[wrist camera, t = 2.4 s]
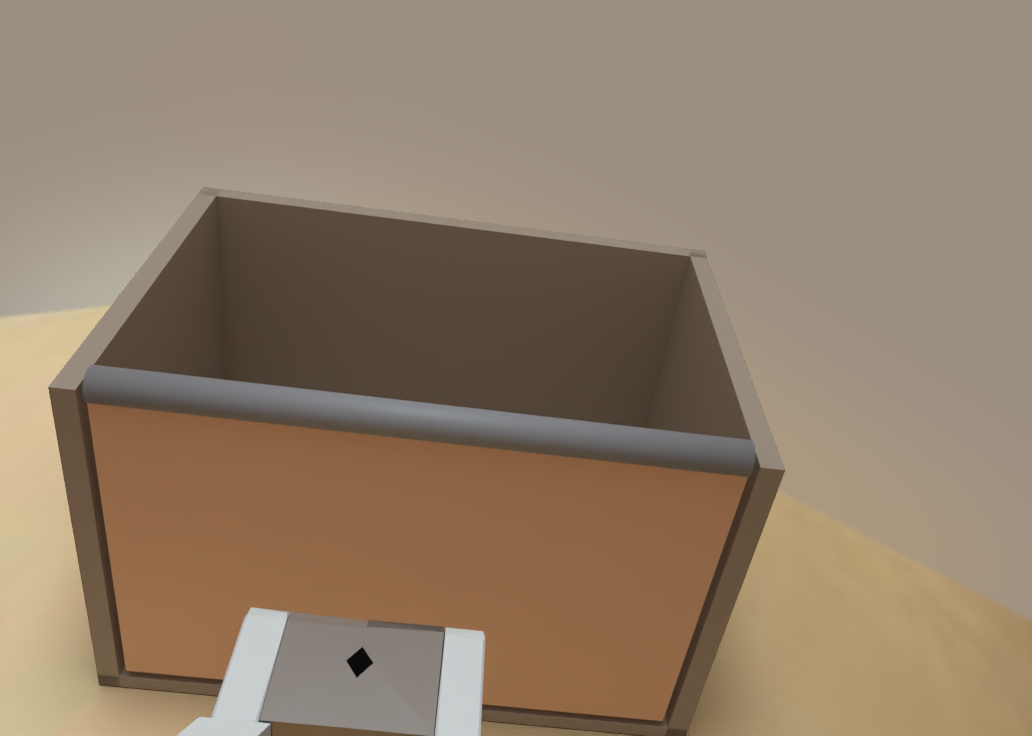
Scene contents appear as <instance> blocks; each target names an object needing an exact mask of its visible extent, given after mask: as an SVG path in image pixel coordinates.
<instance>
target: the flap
mask: <svg viewBox="0 0 1032 736" xmlns="http://www.w3.org/2000/svg"><path fill="white" fill-rule="evenodd" d="M82 393H83V398H84V401H85V402H86V403H87V406H88V413H89V420H90V426H91V433H92V440H93V447H94V454H95V461H96V468H97V475H98V481H99V488H100V495H101V502H102V509H103V516H104V523H105V530H106V536H107V543H108V550H109V557H110V564H111V571H112V578H113V584H114V591H115V598H116V605H117V612H118V619H119V626H120V633H121V639H122V646H123V653H124V660H125V667H126V671H136V672H146V673H157V674H168V675H178V676H189V677H199V678H210V679H221V680H224V677H225V674H226V671H227V668H228V665H229V662H230V659H231V656H232V653H233V650H234V647H235V644H236V641H237V638H238V635H239V632H240V629H241V626H242V623H243V620H244V618H245V616H246V615H247V613H248V611H249V610H250V608H251V607H253V608H262V609H271V610H279V611H288V612H299V613H306V614H314V615H322V616H330V617H338V618H346V619H354V620H362V621H368V620H373V621H385V622H396V623H407V624H419V625H430V626H442V627H444V630H445V628H456V629H466V630H476V631H483V632H484V635H485V655H484V676H483V697H482V704H486V705H496V706H507V707H517V708H528V709H539V710H549V711H560V712H570V713H581V714H592V715H602V716H613V717H624V718H634V719H645V720H655V721H663V719H664V716H665V713H666V710H667V707H668V704H669V701H670V698H671V696H672V693H673V690H674V687H675V684H676V681H677V678H678V676H679V673H680V670H681V667H682V664H683V661H684V658H685V656H686V653H687V650H688V647H689V644H690V641H691V638H692V636H693V633H694V630H695V627H696V624H697V621H698V618H699V616H700V613H701V610H702V607H703V604H704V601H705V598H706V595H707V593H708V590H709V587H710V584H711V581H712V578H713V575H714V573H715V570H716V567H717V564H718V561H719V558H720V555H721V553H722V550H723V547H724V544H725V541H726V538H727V535H728V533H729V530H730V527H731V524H732V521H733V518H734V515H735V513H736V510H737V507H738V504H739V501H740V498H741V495H742V492H743V490H744V487H745V484H746V481H747V478H748V477H749V476H750V475H751V474H752V471H753V469H754V464H755V445H754V442H753V441H752V440H746V439H738V438H729V437H720V436H711V435H703V434H694V433H685V432H676V431H668V430H659V429H650V428H642V427H633V426H624V425H615V424H607V423H598V422H589V421H581V420H572V419H563V418H554V417H546V416H537V415H528V414H520V413H511V412H502V411H493V410H485V409H476V408H467V407H459V406H450V405H441V404H432V403H424V402H415V401H406V400H398V399H389V398H380V397H371V396H363V395H354V394H345V393H337V392H328V391H319V390H310V389H302V388H293V387H284V386H276V385H267V384H258V383H249V382H241V381H232V380H223V379H215V378H206V377H197V376H188V375H180V374H171V373H162V372H154V371H145V370H136V369H127V368H119V367H110V366H101V365H90V366H89V367H88V369H87V371H86V373H85V376H84V380H83V387H82Z"/></svg>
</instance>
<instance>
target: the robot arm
mask: <svg viewBox="0 0 1032 736" xmlns="http://www.w3.org/2000/svg"><path fill="white" fill-rule="evenodd" d="M484 655H485V635H484V632H483V631H476V630H466V629H456V628H445V630H444V627H442V626H430V625H419V624H407V623H396V622H385V621H373V620H368V621H362V620H354V619H346V618H338V617H330V616H322V615H314V614H306V613H299V612H288V611H279V610H271V609H262V608H253V607H251V608H250V610H249V611H248V613H247V615H246V616H245V618H244V620H243V623H242V626H241V629H240V632H239V635H238V638H237V641H236V644H235V647H234V650H233V653H232V656H231V659H230V662H229V665H228V668H227V671H226V674H225V677H224V680H223V683H222V686H221V689H220V692H219V695H218V698H217V701H216V704H215V707H214V710H213V713H212V716H211V717H198V718H197V719H195V720H194V721H193V722H192V723H191V724H190V725H188V726H187V727H186V728H185V729H184V730H182V731H181V732H180V733H179V734H178V735H177V736H481V718H482V697H483V676H484Z"/></svg>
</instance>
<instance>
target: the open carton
mask: <svg viewBox="0 0 1032 736" xmlns="http://www.w3.org/2000/svg"><path fill="white" fill-rule="evenodd" d="M90 365H101V366H110V367H119V368H127V369H136V370H145V371H154V372H162V373H171V374H180V375H188V376H197V377H206V378H215V379H223V380H232V381H241V382H249V383H258V384H267V385H276V386H284V387H293V388H302V389H310V390H319V391H328V392H337V393H345V394H354V395H363V396H371V397H380V398H389V399H398V400H406V401H415V402H424V403H432V404H441V405H450V406H459V407H467V408H476V409H485V410H493V411H502V412H511V413H520V414H528V415H537V416H546V417H554V418H563V419H572V420H581V421H589V422H598V423H607V424H615V425H624V426H633V427H642V428H650V429H659V430H668V431H676V432H685V433H694V434H703V435H711V436H720V437H729V438H738V439H746V440H752V441H753V442H754V445H755V464H754V469H753V471H752V474H751V475H750V476H749V477H748V478H747V481H746V484H745V487H744V490H743V492H742V495H741V498H740V501H739V504H738V507H737V510H736V513H735V515H734V518H733V521H732V524H731V527H730V530H729V533H728V535H727V538H726V541H725V544H724V547H723V550H722V553H721V555H720V558H719V561H718V564H717V567H716V570H715V573H714V575H713V578H712V581H711V584H710V587H709V590H708V593H707V595H706V598H705V601H704V604H703V607H702V610H701V613H700V616H699V618H698V621H697V624H696V627H695V630H694V633H693V636H692V638H691V641H690V644H689V647H688V650H687V653H686V656H685V658H684V661H683V664H682V667H681V670H680V673H679V676H678V678H677V681H676V684H675V687H674V690H673V693H672V696H671V698H670V701H669V704H668V707H667V710H666V713H665V716H664V719H663V721H655V720H645V719H634V718H624V717H613V716H602V715H592V714H581V713H570V712H560V711H549V710H539V709H528V708H517V707H507V706H496V705H486V704H482V718H481V720H482V721H493V722H504V723H515V724H525V725H536V726H547V727H558V728H568V729H579V730H590V731H600V732H611V733H622V734H633V735H643V736H685V735H686V733H687V730H688V727H689V725H690V722H691V719H692V717H693V714H694V711H695V709H696V706H697V703H698V701H699V698H700V695H701V693H702V690H703V687H704V685H705V682H706V679H707V677H708V674H709V672H710V669H711V666H712V664H713V661H714V658H715V656H716V653H717V650H718V648H719V645H720V642H721V640H722V637H723V634H724V632H725V629H726V626H727V624H728V621H729V618H730V616H731V613H732V610H733V608H734V605H735V602H736V600H737V597H738V594H739V592H740V589H741V586H742V584H743V581H744V578H745V576H746V573H747V570H748V568H749V565H750V562H751V560H752V557H753V554H754V552H755V549H756V547H757V544H758V541H759V539H760V536H761V533H762V531H763V528H764V525H765V523H766V520H767V517H768V515H769V512H770V509H771V507H772V504H773V501H774V499H775V496H776V493H777V491H778V488H779V485H780V482H781V480H782V477H783V475H784V472H785V468H784V466H783V463H782V460H781V458H780V455H779V452H778V449H777V447H776V444H775V441H774V438H773V436H772V433H771V431H770V428H769V425H768V422H767V419H766V417H765V414H764V411H763V409H762V406H761V403H760V400H759V398H758V395H757V392H756V389H755V387H754V384H753V381H752V379H751V376H750V373H749V371H748V368H747V365H746V362H745V360H744V357H743V354H742V351H741V349H740V346H739V343H738V340H737V338H736V335H735V332H734V330H733V327H732V324H731V322H730V319H729V316H728V313H727V311H726V308H725V305H724V302H723V300H722V297H721V294H720V292H719V289H718V286H717V283H716V280H715V278H714V275H713V272H712V270H711V267H710V264H709V262H708V259H707V256H706V254H705V251H702V250H694V249H686V248H678V247H670V246H663V245H655V244H647V243H639V242H631V241H623V240H616V239H607V238H600V237H592V236H584V235H576V234H569V233H560V232H553V231H545V230H537V229H529V228H521V227H514V226H506V225H498V224H490V223H481V222H475V221H467V220H459V219H451V218H443V217H435V216H428V215H419V214H411V213H404V212H396V211H388V210H381V209H372V208H365V207H357V206H349V205H341V204H333V203H326V202H318V201H310V200H302V199H294V198H286V197H279V196H271V195H263V194H255V193H246V192H240V191H232V190H224V189H216V188H208V187H203V188H202V189H201V190H200V192H199V193H198V194H197V196H196V197H195V198H194V199H193V201H192V202H191V204H190V205H189V206H188V207H187V209H186V210H185V211H184V212H183V214H182V215H181V216H180V218H179V219H178V220H177V221H176V223H175V224H174V225H173V227H172V228H171V229H170V231H169V232H168V233H167V235H166V236H165V237H164V238H163V240H162V241H161V242H160V243H159V245H158V246H157V247H156V249H155V250H154V251H153V253H152V254H151V255H150V256H149V258H148V259H147V260H146V262H145V263H144V264H143V265H142V267H141V268H140V269H139V271H138V272H137V273H136V274H135V276H134V277H133V278H132V280H131V281H130V282H129V284H128V285H127V286H126V287H125V289H124V290H123V291H122V293H121V294H120V295H119V296H118V298H117V299H116V300H115V302H114V303H113V304H112V305H111V307H110V308H109V309H108V311H107V312H106V313H105V315H104V316H103V317H102V318H101V320H100V321H99V322H98V324H97V325H96V326H95V327H94V329H93V330H92V331H91V333H90V334H89V335H88V336H87V338H86V339H85V340H84V342H83V343H82V344H81V346H80V347H79V348H78V349H77V351H76V352H75V353H74V355H73V356H72V357H71V358H70V360H69V361H68V362H67V364H66V365H65V366H64V368H63V369H62V370H61V371H60V373H59V374H58V375H57V377H56V378H55V379H54V380H53V382H52V383H51V384H50V386H49V387H48V388H49V394H50V399H51V405H52V411H53V417H54V423H55V429H56V434H57V440H58V446H59V452H60V458H61V464H62V469H63V475H64V481H65V487H66V493H67V499H68V504H69V510H70V516H71V522H72V528H73V534H74V539H75V545H76V551H77V557H78V563H79V568H80V574H81V580H82V586H83V592H84V598H85V603H86V609H87V615H88V621H89V627H90V633H91V638H92V644H93V650H94V656H95V662H96V668H97V673H98V679H99V685H107V686H118V687H128V688H139V689H150V690H160V691H171V692H182V693H193V694H203V695H214V696H218V695H219V692H220V689H221V686H222V683H223V680H221V679H210V678H199V677H189V676H178V675H168V674H157V673H146V672H136V671H126V667H125V660H124V653H123V646H122V639H121V633H120V626H119V619H118V612H117V605H116V598H115V591H114V584H113V578H112V571H111V564H110V557H109V550H108V543H107V536H106V530H105V523H104V516H103V509H102V502H101V495H100V488H99V481H98V475H97V468H96V461H95V454H94V447H93V440H92V433H91V426H90V420H89V413H88V406H87V403H86V402H85V401H84V398H83V393H82V387H83V380H84V376H85V373H86V371H87V369H88V367H89V366H90Z"/></svg>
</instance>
